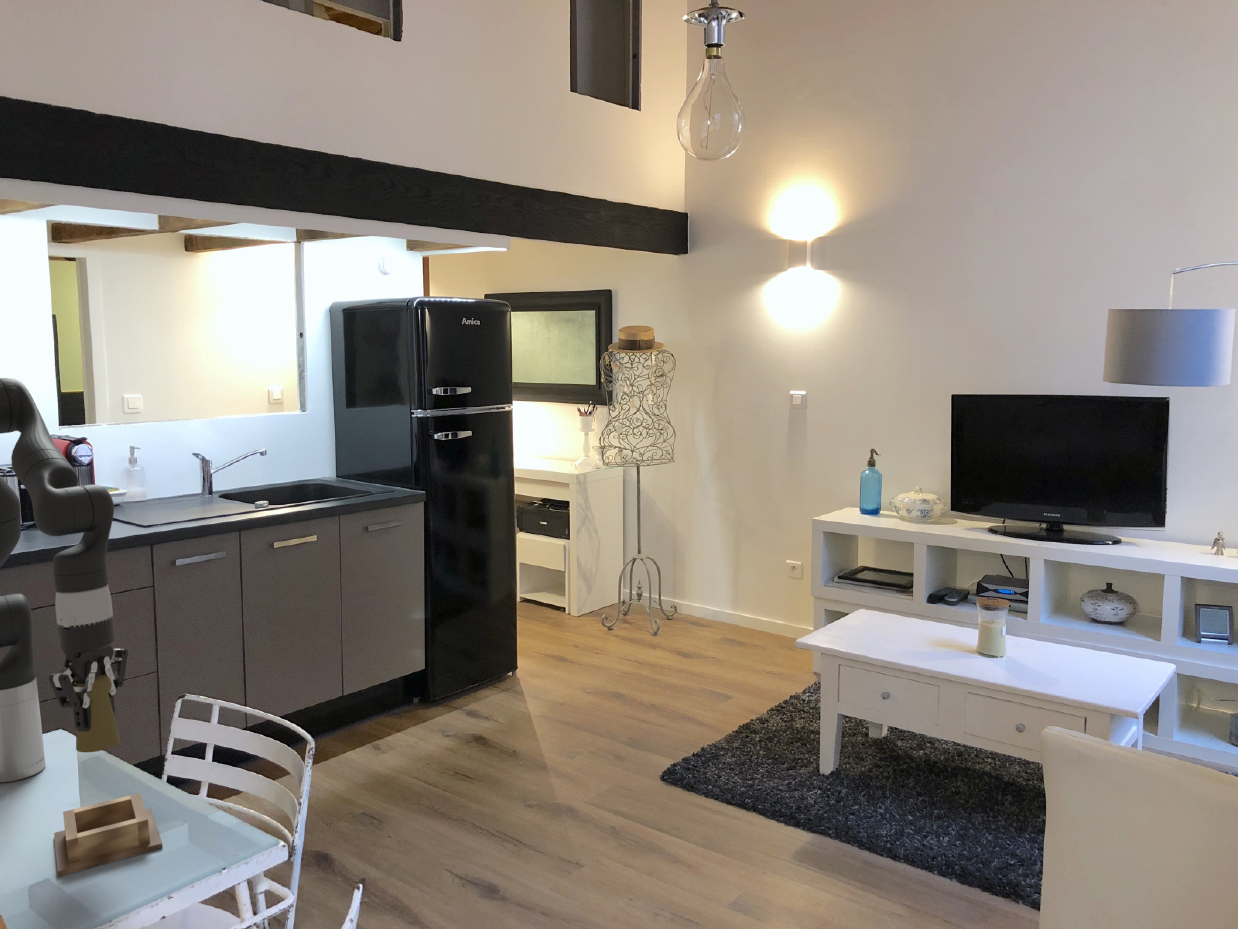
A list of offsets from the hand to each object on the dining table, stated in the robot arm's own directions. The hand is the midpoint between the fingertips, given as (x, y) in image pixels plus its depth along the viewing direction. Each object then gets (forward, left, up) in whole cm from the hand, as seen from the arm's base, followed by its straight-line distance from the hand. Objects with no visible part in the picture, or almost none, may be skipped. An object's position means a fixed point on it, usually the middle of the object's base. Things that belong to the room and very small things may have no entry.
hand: (96, 724), depth 148 cm
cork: (0, 0, -3) cm, 3 cm away
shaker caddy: (0, 0, -19) cm, 19 cm away
